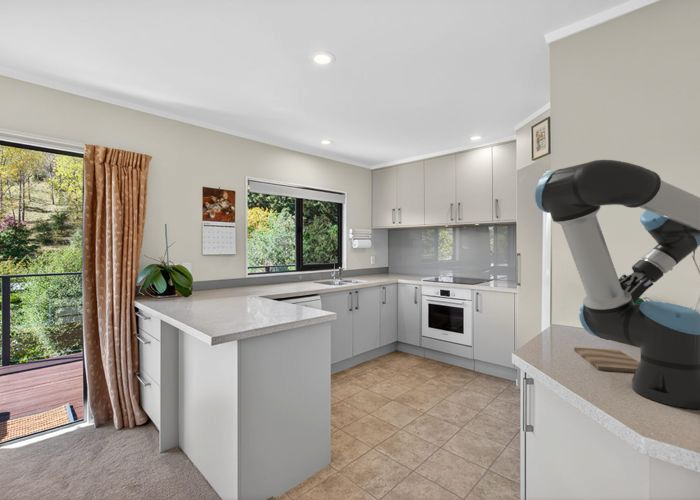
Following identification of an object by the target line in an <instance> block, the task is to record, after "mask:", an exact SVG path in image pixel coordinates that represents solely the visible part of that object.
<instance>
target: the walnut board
mask: <svg viewBox="0 0 700 500" xmlns="http://www.w3.org/2000/svg"><path fill="white" fill-rule="evenodd" d="M573 351H574V352H575V353H577V354H578V355H579V356H580V357H581V358H583V360H585V361H586V362H588V363H589V364H590V365H591V366H593V367H594V368H595V369H596V370H597V371H606V372H607V371H609V372H620V373H621V372H622V373H632V374H633V373H634V374H635V372H636V370H637V368H638V365H639V363H640V361H638V360H636V359H634V358H633V357H631V356H629V355H628V354H626V353H624V352H623V351H621V350H619V349H609V348H608V349H607V348H592V347H590V348H589V347H578V346H577V347H576V346H575V347H573Z"/></svg>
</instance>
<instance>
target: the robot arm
mask: <svg viewBox="0 0 700 500" xmlns="http://www.w3.org/2000/svg"><path fill="white" fill-rule="evenodd" d="M534 199H535V203H536V206H537V207H538V209H540V210H541V211H542V212H544V213H547V214H548V213H549V214H550V216H551V219H552V221H553V222H554V223H556V224H559V225H560V226H561V229H562V232H563V235H564V236H565V239H566V242H567V245H568V248H569V250H570V253H571V256H572V258H573V261H574V264H575V267H576V271H577V272H578V275H579V278H580V281H581V283H582V286H583V289H584V291H585V294H586V295H585V296H584V298H583V300H582V303H581V305H580V307H579V312H580V313H579V314H578V316H579V321H580V324H581V326H582V328H583V329H584V330H585V331H586V332H587V333H589V334H590V335H591V336H595V337H597V338H599V339H603V340H605V341H610V342H611V341H612V342H616V343H620V344H625V345H628V346H631V347H636V348H639V349H640V360H639V365H638V368H637V370H636V372H635V373H634V374H633V377H632V379H631V388H632V390H633V391H634V392H635V393H636V394H638V395H641V396H643V397H645V398H647V399H649V400H651V401H654V402H658V403H661V404H664V405H668V406H673V407H678V408H683V409H692V410H700V313H699V312H698V311H696V310H695V309H692V308H690V307H687V306H684V305H679V304H675V303H670V302H661V301H655V300H651V301H650V300H649V301H647V300H646V301H642V302H641V303H640V304H635V303H636V302H637V301H638V299H640V297H641V296H642V295H644V293H645V292H646V291H647V290H648V289H649V288H650V287H652V286H653V285H654V283H656V282H658V281H659V280H660V279H661V278H663V277H664V274H667V273H668V272H670V271H672V270H674V269H673V268H674V267H675V266H676V265H678V264H679V263H681V262H682V261H683V260H684V259H685V258H687V256H689V255H691V254H692V252H694V251H696V250H698V247H700V197H699V196H697V195H695V194H693V193H690V192H688V191H686V190H684V189H682V188H680V187H677V186H675V185H673V184H670V183H668V182H666V181H664V180H662V179H661V177H660V174H658V173H657V172H655V171H653V170H651V169H648V168H646V167H644V166H641V165H638V164H634V163H630V162H627V161H620V160H614V159H598V160H597V159H595V160H592V161H588V162H585V163H580V164H576V165H572V166H567V167H562V168H559V169H556V170H553V171H550V172H548V173H545V174H544V175H543V176H542V177H541V178H540V179H539V180H538V181H537V186H535V191H534ZM615 205H618V206H624V207H626V208H631V209H633V208H640V209H642V210H644V211H643V212H642V214H641V215H640V217H639V222H640V223H641V225H642V226H643V227H644V228H643V229H645V230H646V231H647V233H648V234H649V235H650V236H651V237H652V238H653V239H654V241H655V242H656V243H657V244H656V245H655V246H654V247H653V248H652V249H650V251H648V252H647V253H646V254H644V255H643V256H642V258H641V259H640V260H638V261H637V262H635V263H634V264H633V265H632V266H631V269H632V273H631V274H628V275H626V274H625V273H624V274H622V275H621V276H620V277H618V273H617V271H616V268H615V265H614V262H613V260H612V257H611V254H610V251H609V248H608V245H607V243H606V239H605V236H604V233H603V232H602V229H601V226H600V223H599V219H598V216H597V214H598V212H599V211H600V209H601V206H602V207H603V206H615Z"/></svg>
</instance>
